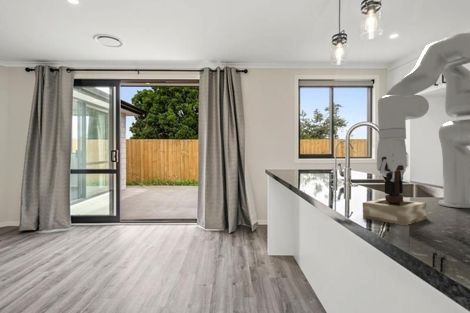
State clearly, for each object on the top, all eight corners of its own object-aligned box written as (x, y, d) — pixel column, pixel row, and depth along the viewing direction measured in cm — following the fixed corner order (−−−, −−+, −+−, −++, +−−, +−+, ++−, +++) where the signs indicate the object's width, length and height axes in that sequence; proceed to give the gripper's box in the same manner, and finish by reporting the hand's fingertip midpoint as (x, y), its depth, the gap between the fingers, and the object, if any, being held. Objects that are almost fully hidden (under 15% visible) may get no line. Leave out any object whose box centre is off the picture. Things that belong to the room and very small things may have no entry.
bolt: (406, 214, 86) (405, 165, 86) (388, 214, 87) (387, 165, 87) (399, 210, 92) (398, 164, 92) (383, 210, 93) (381, 164, 93)
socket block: (384, 212, 99) (384, 197, 99) (426, 218, 88) (426, 202, 88) (363, 218, 92) (362, 202, 91) (405, 225, 81) (405, 208, 81)
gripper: (393, 136, 97) (395, 189, 97) (365, 136, 88) (367, 195, 88) (417, 134, 91) (419, 191, 91) (390, 134, 82) (392, 197, 82)
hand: (393, 192), depth 90 cm, fingers closed on bolt, 3 cm apart
